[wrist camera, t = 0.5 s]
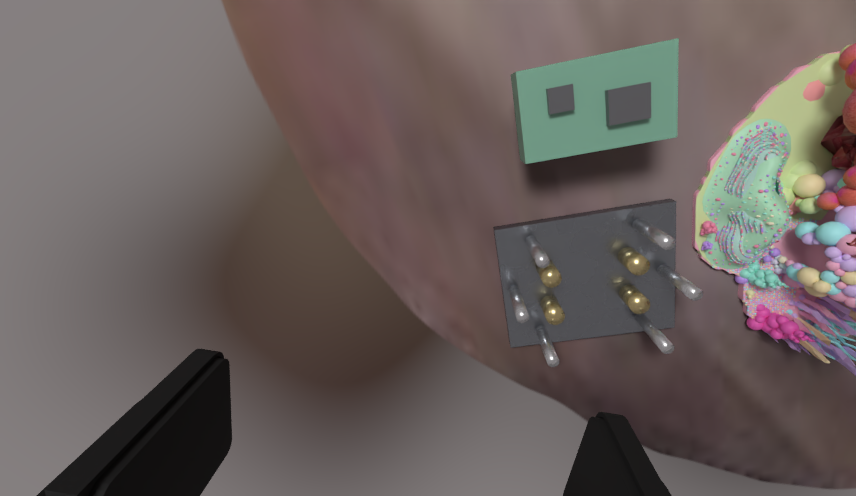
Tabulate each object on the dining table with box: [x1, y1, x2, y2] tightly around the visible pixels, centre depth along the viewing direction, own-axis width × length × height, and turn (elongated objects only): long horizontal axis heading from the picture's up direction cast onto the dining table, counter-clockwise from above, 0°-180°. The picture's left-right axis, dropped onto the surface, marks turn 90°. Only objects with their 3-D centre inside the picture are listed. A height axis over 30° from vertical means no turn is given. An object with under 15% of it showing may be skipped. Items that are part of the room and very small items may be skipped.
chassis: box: [493, 199, 703, 367], centre depth 34 cm, size 15×12×6 cm
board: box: [511, 38, 679, 164], centre depth 27 cm, size 10×6×3 cm, turn 101°
